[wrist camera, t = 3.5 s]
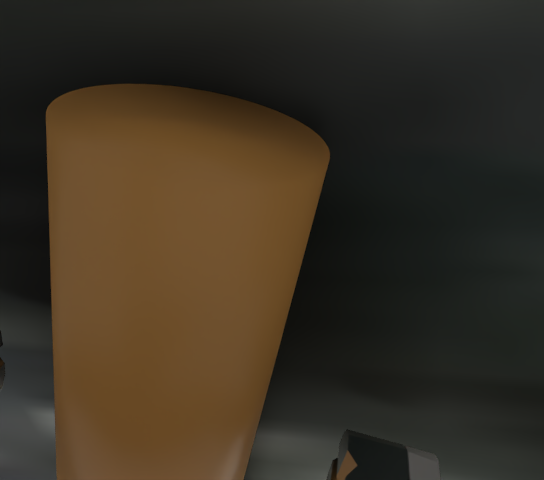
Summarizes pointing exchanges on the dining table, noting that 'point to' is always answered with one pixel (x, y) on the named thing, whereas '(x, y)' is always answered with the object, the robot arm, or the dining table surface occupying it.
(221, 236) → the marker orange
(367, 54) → the dining table surface
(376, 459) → the robot arm
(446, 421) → the dining table surface
